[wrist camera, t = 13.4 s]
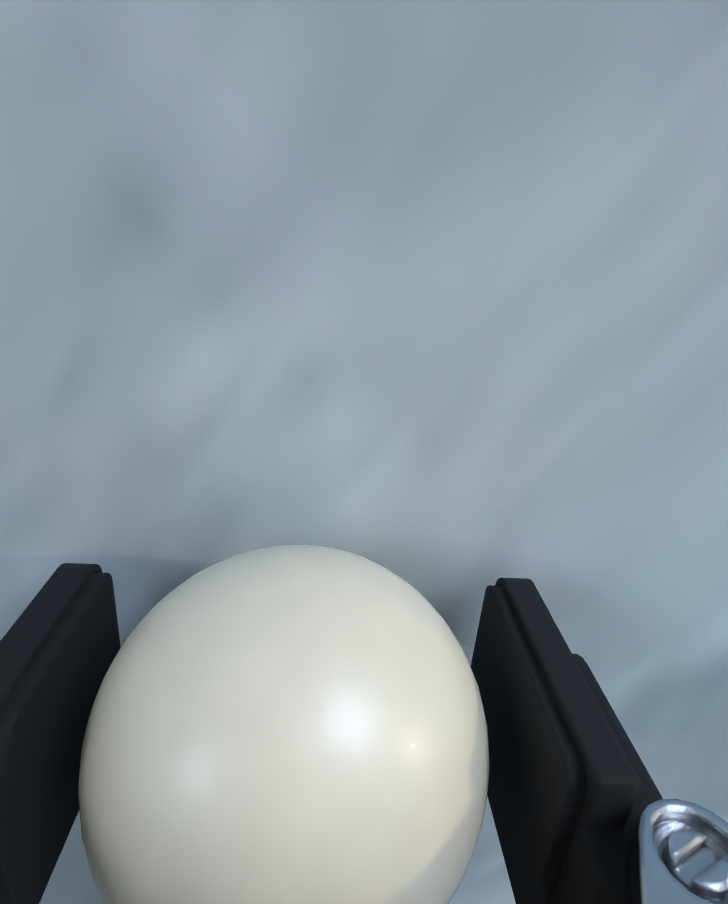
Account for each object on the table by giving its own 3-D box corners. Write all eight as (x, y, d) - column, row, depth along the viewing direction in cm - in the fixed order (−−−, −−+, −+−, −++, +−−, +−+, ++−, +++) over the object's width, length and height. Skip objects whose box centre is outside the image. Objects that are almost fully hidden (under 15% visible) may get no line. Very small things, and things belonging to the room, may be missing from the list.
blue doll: (142, 474, 9) (-91, 787, 4) (467, 488, 10) (614, 790, 5) (181, 916, 14) (95, 1311, 9) (397, 914, 15) (431, 1290, 10)
